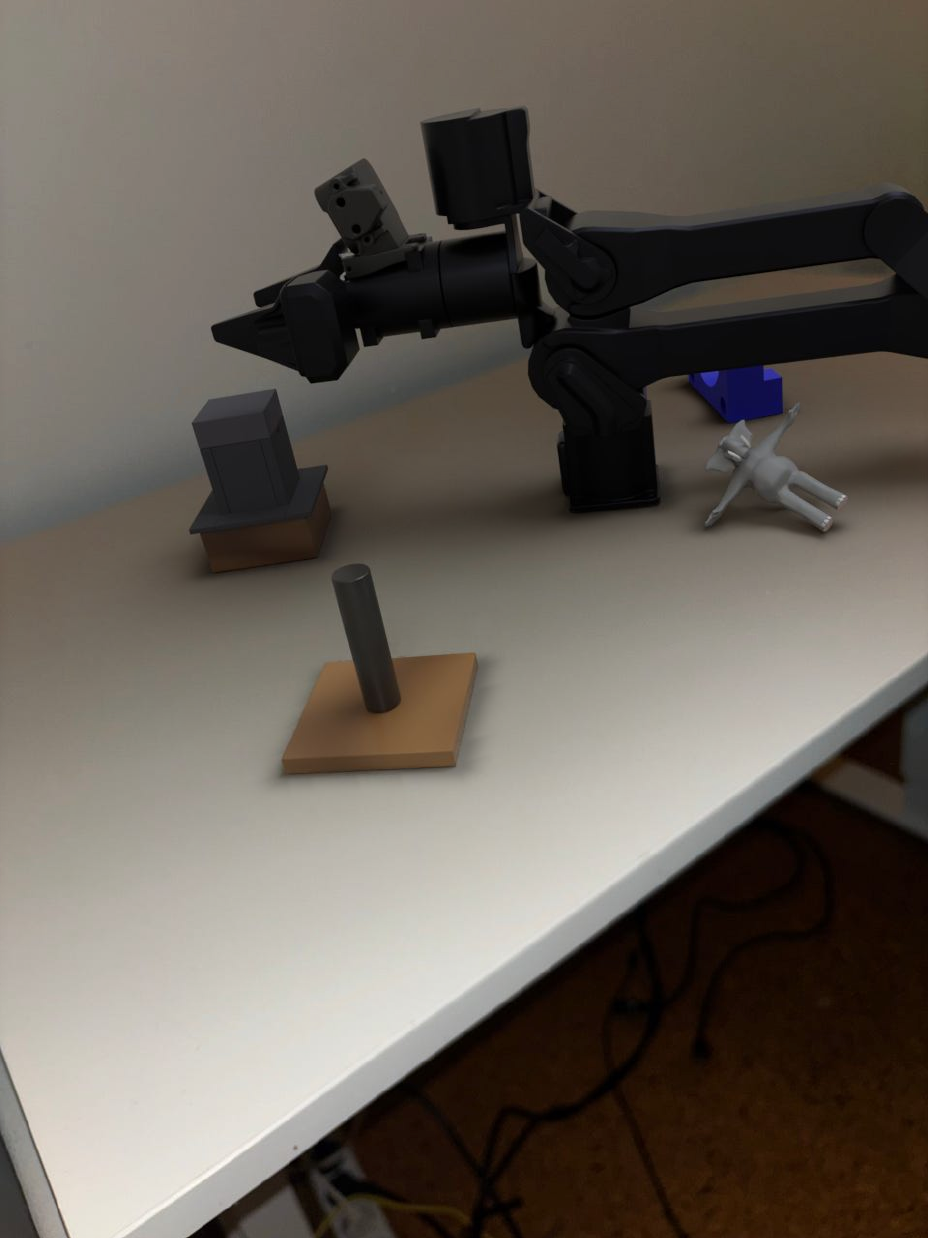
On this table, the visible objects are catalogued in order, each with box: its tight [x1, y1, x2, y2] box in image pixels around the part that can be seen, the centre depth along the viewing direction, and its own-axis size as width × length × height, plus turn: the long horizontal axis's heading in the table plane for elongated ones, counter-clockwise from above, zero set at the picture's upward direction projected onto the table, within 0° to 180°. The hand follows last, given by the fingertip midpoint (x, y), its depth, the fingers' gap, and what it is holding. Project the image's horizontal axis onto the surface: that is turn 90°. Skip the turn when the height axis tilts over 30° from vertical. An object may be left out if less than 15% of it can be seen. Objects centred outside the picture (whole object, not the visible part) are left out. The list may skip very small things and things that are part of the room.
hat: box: [188, 388, 329, 535], centre depth 75 cm, size 9×9×8 cm
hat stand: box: [281, 563, 479, 775], centre depth 54 cm, size 9×9×9 cm
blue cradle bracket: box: [688, 366, 784, 424], centre depth 88 cm, size 12×4×6 cm, turn 5°
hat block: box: [199, 481, 332, 574], centre depth 78 cm, size 8×8×4 cm
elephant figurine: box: [704, 402, 849, 533], centre depth 67 cm, size 10×6×9 cm
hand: (235, 315), depth 73 cm, fingers open, 9 cm apart
